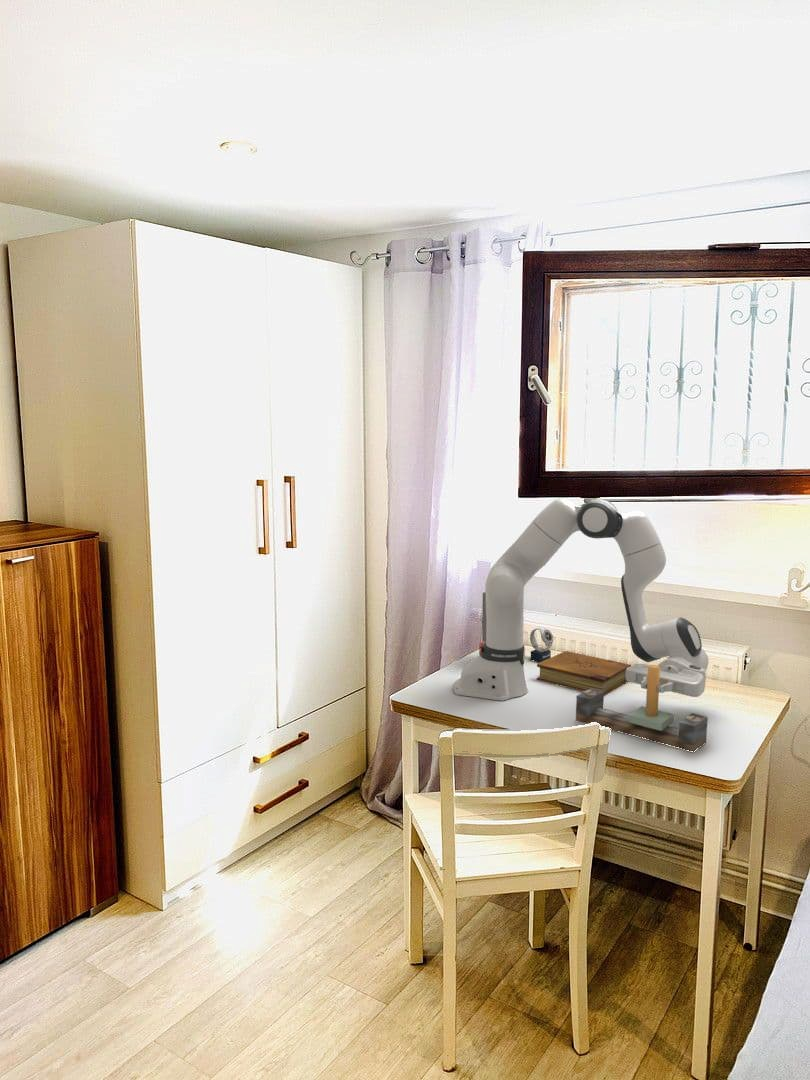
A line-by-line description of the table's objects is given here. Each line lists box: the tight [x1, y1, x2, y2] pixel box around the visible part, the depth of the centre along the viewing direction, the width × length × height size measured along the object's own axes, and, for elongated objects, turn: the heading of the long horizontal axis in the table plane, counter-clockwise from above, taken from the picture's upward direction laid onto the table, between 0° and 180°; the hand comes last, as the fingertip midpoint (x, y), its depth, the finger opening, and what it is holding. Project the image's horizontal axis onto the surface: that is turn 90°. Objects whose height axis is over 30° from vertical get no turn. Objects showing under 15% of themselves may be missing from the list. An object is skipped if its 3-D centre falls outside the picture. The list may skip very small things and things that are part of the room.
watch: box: [529, 626, 554, 663], centre depth 278 cm, size 6×8×11 cm
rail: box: [575, 688, 709, 753], centre depth 218 cm, size 33×8×8 cm, turn 49°
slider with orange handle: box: [628, 664, 676, 731], centre depth 215 cm, size 9×8×15 cm
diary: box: [536, 650, 632, 696], centre depth 259 cm, size 23×19×6 cm
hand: (651, 687), depth 214 cm, fingers closed on slider with orange handle, 3 cm apart
